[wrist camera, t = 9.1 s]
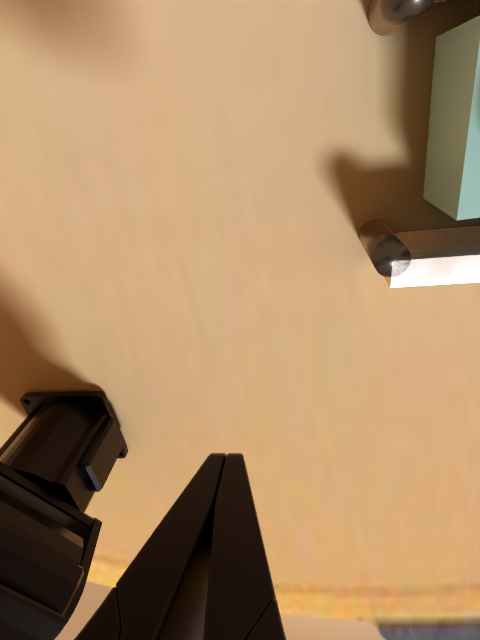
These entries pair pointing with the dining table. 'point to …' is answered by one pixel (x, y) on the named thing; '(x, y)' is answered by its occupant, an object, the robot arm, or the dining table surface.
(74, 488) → the robot arm
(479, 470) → the dining table surface
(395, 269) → the motor mount
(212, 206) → the dining table surface
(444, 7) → the dining table surface
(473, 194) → the teal cube with ball
